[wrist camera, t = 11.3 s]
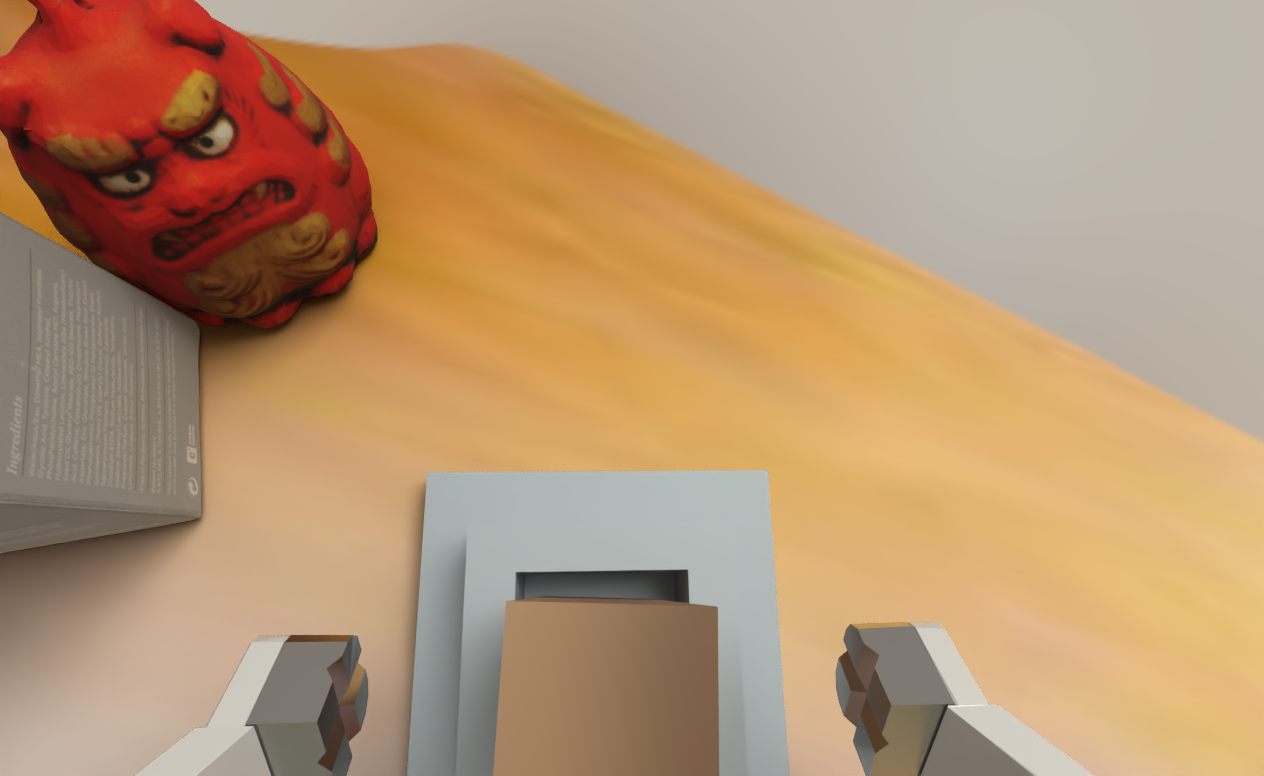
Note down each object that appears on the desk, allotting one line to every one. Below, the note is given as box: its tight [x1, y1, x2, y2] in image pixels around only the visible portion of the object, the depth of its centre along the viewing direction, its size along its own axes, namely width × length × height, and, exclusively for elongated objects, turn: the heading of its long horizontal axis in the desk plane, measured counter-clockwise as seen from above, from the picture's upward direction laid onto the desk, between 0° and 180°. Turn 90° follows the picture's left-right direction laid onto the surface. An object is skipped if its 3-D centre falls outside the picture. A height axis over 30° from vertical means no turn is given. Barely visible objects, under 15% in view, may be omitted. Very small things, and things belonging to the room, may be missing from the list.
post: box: [493, 596, 719, 776], centre depth 14 cm, size 3×3×10 cm
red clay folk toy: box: [0, 0, 377, 328], centre depth 16 cm, size 8×7×15 cm
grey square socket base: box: [407, 470, 789, 776], centre depth 18 cm, size 10×10×4 cm
